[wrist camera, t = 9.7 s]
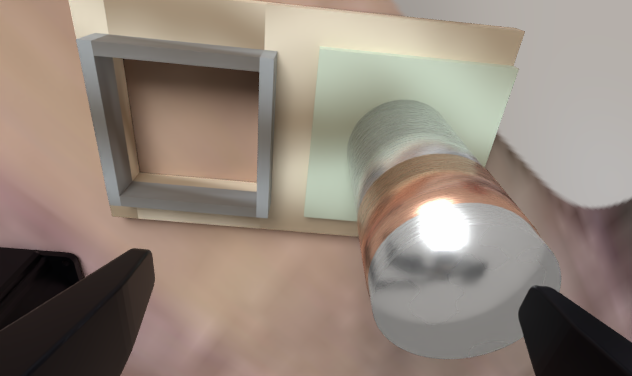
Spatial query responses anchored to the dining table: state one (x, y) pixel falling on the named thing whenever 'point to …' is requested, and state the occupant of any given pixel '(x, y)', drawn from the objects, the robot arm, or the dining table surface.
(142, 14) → the pocket board
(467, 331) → the steel tin
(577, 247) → the dining table surface
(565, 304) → the robot arm
